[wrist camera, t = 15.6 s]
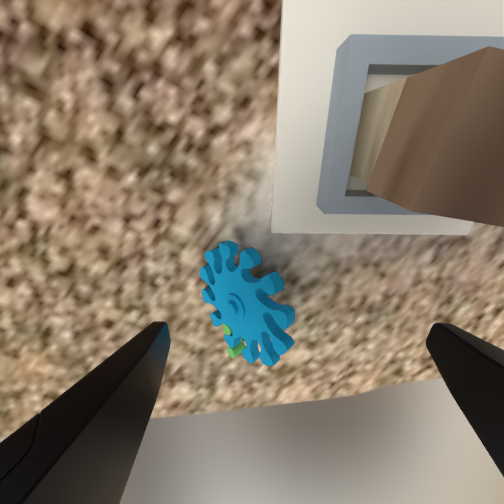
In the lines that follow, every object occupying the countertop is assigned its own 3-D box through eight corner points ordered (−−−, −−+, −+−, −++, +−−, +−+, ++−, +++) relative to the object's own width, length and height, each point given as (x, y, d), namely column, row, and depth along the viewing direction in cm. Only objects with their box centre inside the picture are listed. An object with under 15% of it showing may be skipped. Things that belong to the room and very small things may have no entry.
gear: (197, 221, 18) (303, 305, 12) (253, 209, 22) (351, 269, 16) (190, 318, 24) (260, 403, 18) (235, 295, 28) (303, 359, 22)
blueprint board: (555, 6, 14) (629, -26, 11) (460, 231, 20) (493, 246, 17) (281, 1, 14) (289, -32, 11) (270, 229, 20) (273, 244, 17)
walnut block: (509, 99, 11) (637, 80, 7) (451, 205, 13) (529, 231, 9) (407, 77, 10) (489, 46, 7) (365, 190, 13) (411, 211, 9)
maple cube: (443, 94, 15) (526, 75, 10) (418, 176, 17) (478, 189, 13) (364, 93, 15) (414, 74, 10) (349, 175, 17) (385, 189, 13)
